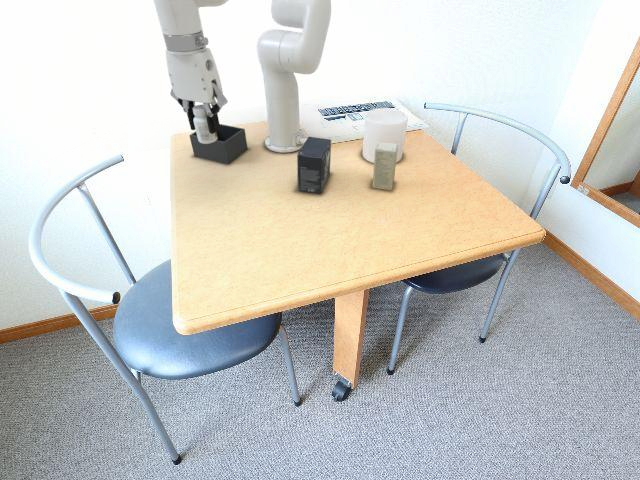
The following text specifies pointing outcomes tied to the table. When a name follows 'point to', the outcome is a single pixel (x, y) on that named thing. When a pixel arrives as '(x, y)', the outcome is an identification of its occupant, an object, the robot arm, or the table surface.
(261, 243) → the table surface
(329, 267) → the table surface
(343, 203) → the table surface
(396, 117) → the cup
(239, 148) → the bin
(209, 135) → the pill bottle
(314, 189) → the box
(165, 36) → the robot arm
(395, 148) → the box
